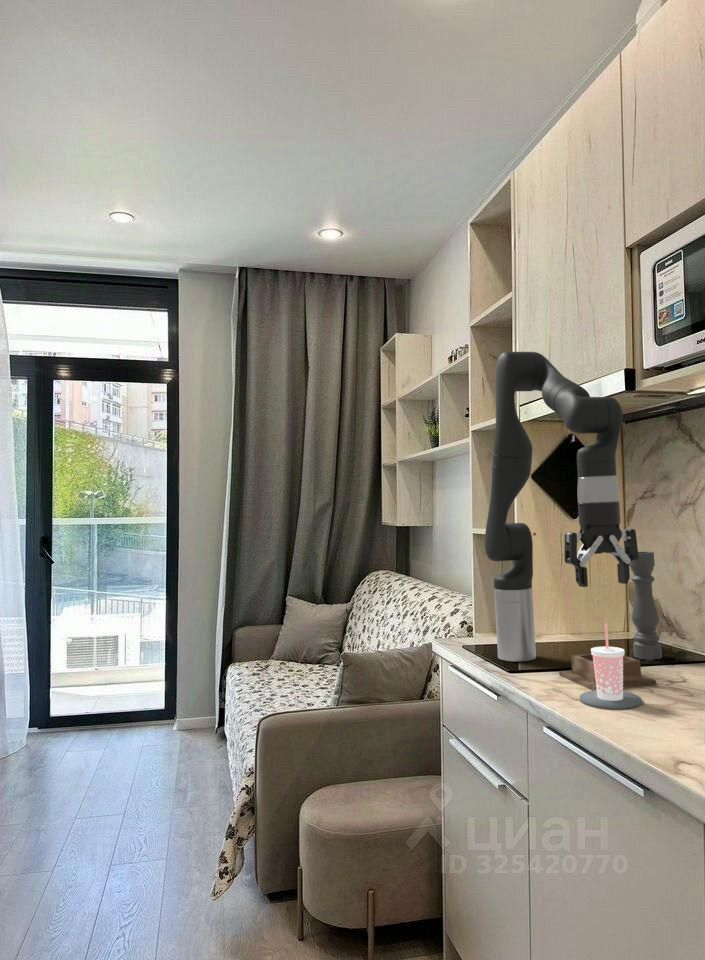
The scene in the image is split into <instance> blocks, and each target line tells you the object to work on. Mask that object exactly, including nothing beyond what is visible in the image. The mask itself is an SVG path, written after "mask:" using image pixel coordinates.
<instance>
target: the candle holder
mask: <svg viewBox="0 0 705 960" xmlns="http://www.w3.org/2000/svg"><path fill="white" fill-rule="evenodd" d="M638 556H639V557H638V559H637V560H633V561H631V562H630V563H629V568H630V570H631V571H632V573H633V576H630V580H631V581H632V582H633V584H634V600H633V607H632V612H631V620H632V623H633V625H634V626H635V630H637V631H636V632H635V634H634V635H633V639H634V640H635V641H634V642H633V643H632V644H633V646H632V648H633V658H634V657H636V658H639V659H638V660H640V659H646V660H645V661H655V660H654V659H660V658H662V659H663V655H662V652H663V651H662V643H661V642H659V641H660V636H659V635H658V634H657V632H656V630H657V628H656V627H657V626H658V625H659V622H660V616H659V612H658V609H657V605H656V603H655V600H654V596H653V582H654V581H655V577H654V576H653V575H652V573H653V571H654V567H655V566H656V565H655V564H656V563H655V552H654V551H638ZM636 658H635V659H636ZM660 660H661V659H660Z"/></svg>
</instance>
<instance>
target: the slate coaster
mask: <svg viewBox="0 0 705 960" xmlns="http://www.w3.org/2000/svg"><path fill="white" fill-rule="evenodd" d="M579 702H581V704H582V703H583V705H586V706H589V707H591V708H596V709H603V710H604V709H605V710H628V709H635V708H637V707H640V706H641V705H642V703H643V701H642V697H641V696H640V695H638V694H635V693H633V692H629V691H624V690H623V699H621V700H617V701H609V700H602V699H599V698H598V696H597V690H589V691H588V690H587V691H584V692H581V694H580V695H579Z"/></svg>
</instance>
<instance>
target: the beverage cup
mask: <svg viewBox="0 0 705 960" xmlns="http://www.w3.org/2000/svg"><path fill="white" fill-rule="evenodd" d="M608 631H609V628H608V623H607V622H605V623H604V633H605V634H604V635H605V645H604V646H595V647H591V648H590V652H591V653H590V654H592V655H593V663H594V671H595V680H596V688H597V696H598V698H599V699H602V700H609V701H617V700H621V699H623V691H624V688H623V656H625V653H626V652H625V649H624V648H621V647H616V646H610V645H609V632H608Z"/></svg>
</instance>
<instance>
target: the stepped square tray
mask: <svg viewBox="0 0 705 960" xmlns="http://www.w3.org/2000/svg"><path fill="white" fill-rule="evenodd" d="M570 657H571V661H570V662H571V669H570V670H561V671H558V673H559V676H561V677H563V678H565V679H567V680H569V681H572V682H574V683H576V684H578V685H580V686H582V687H585V688H588V689H589V690H590V691H593V690H597V688H596V680H595V671H594V663H593V655H592V654H591V653H583V654H575V655H571V656H570ZM641 667H642V666H641V660H640V659H636V658H634V657H630V656H627V655H624V656H623V689H624V688H634V687H643V686H651V685H657V679H655V678H651V677H649V676H646V675H643V674H642V669H641Z"/></svg>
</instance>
